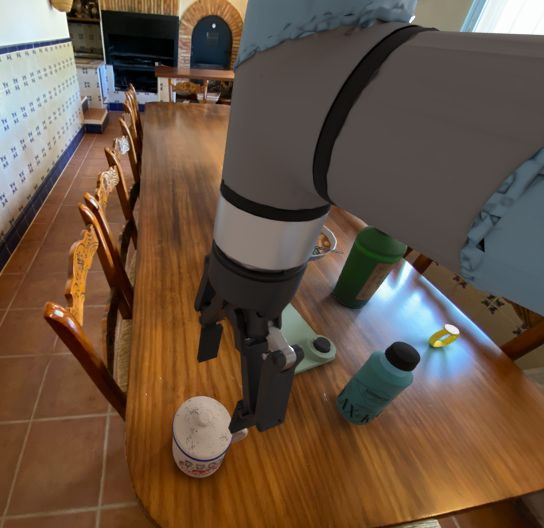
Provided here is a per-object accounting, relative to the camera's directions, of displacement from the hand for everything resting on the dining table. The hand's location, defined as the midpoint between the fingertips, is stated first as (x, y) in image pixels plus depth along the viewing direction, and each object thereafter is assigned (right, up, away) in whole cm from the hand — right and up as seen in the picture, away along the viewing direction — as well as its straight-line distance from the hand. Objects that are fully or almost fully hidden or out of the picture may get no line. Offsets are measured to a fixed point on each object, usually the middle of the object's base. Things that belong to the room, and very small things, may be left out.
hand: (222, 389), depth 37 cm
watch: (+54, -3, +33) cm, 63 cm away
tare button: (+24, -2, +27) cm, 36 cm away
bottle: (+39, +7, +43) cm, 58 cm away
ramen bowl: (+28, +20, +57) cm, 67 cm away
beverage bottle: (+26, -12, +19) cm, 34 cm away
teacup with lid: (-1, -15, +12) cm, 20 cm away
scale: (+16, 0, +32) cm, 35 cm away
